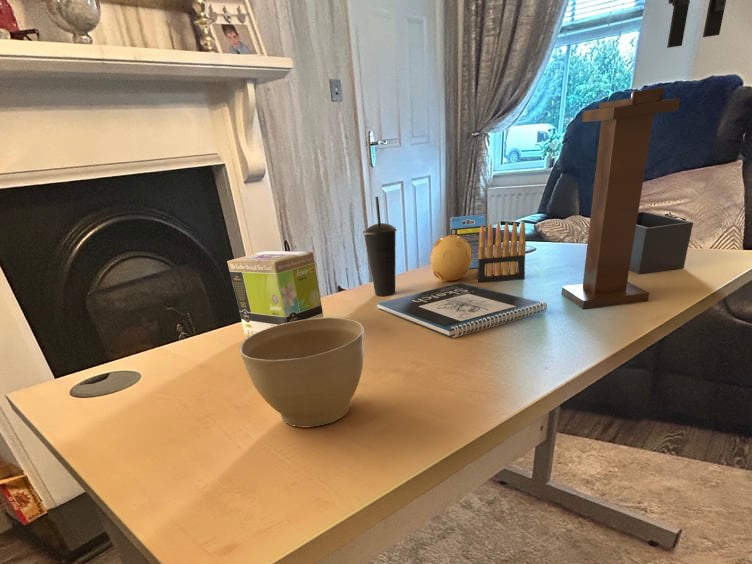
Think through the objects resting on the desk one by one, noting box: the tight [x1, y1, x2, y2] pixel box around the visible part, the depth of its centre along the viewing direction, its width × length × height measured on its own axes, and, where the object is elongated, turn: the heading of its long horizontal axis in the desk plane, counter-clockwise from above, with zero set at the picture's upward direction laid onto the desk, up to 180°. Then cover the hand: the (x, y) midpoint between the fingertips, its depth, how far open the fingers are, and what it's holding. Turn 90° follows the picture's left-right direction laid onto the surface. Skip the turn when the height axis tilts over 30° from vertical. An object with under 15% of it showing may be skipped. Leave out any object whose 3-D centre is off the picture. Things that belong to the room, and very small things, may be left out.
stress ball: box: [429, 234, 472, 282], centre depth 126 cm, size 10×10×10 cm
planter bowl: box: [238, 316, 365, 428], centre depth 71 cm, size 16×16×11 cm
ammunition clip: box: [477, 220, 527, 284], centre depth 120 cm, size 11×2×12 cm, turn 79°
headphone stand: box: [561, 87, 681, 310], centre depth 94 cm, size 13×12×32 cm
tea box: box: [226, 250, 325, 335], centre depth 104 cm, size 15×10×15 cm, turn 48°
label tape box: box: [449, 213, 487, 270], centre depth 134 cm, size 9×4×12 cm, turn 79°
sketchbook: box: [376, 282, 548, 339], centre depth 107 cm, size 22×30×2 cm
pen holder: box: [629, 210, 694, 275], centre depth 120 cm, size 22×10×9 cm, turn 2°
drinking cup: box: [362, 196, 398, 297], centre depth 120 cm, size 8×8×20 cm
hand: (691, 42), depth 106 cm, fingers open, 13 cm apart
